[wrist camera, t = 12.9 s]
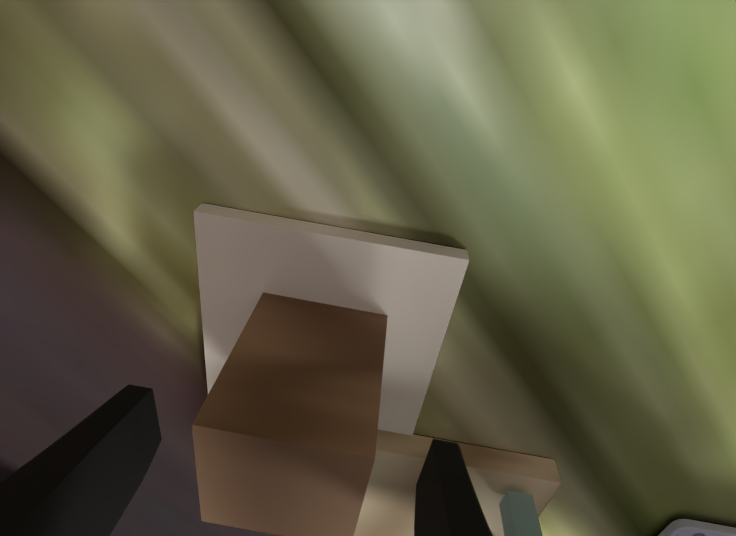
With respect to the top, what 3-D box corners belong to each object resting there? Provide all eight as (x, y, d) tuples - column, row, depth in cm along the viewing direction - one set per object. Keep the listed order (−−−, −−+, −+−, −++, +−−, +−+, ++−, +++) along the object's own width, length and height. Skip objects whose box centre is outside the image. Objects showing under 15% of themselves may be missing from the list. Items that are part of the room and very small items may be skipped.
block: (387, 315, 13) (374, 458, 9) (367, 399, 15) (350, 548, 11) (263, 292, 13) (191, 424, 9) (260, 380, 15) (201, 520, 11)
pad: (467, 249, 12) (469, 259, 12) (412, 422, 17) (412, 435, 16) (201, 203, 12) (193, 211, 12) (214, 387, 17) (208, 399, 16)
